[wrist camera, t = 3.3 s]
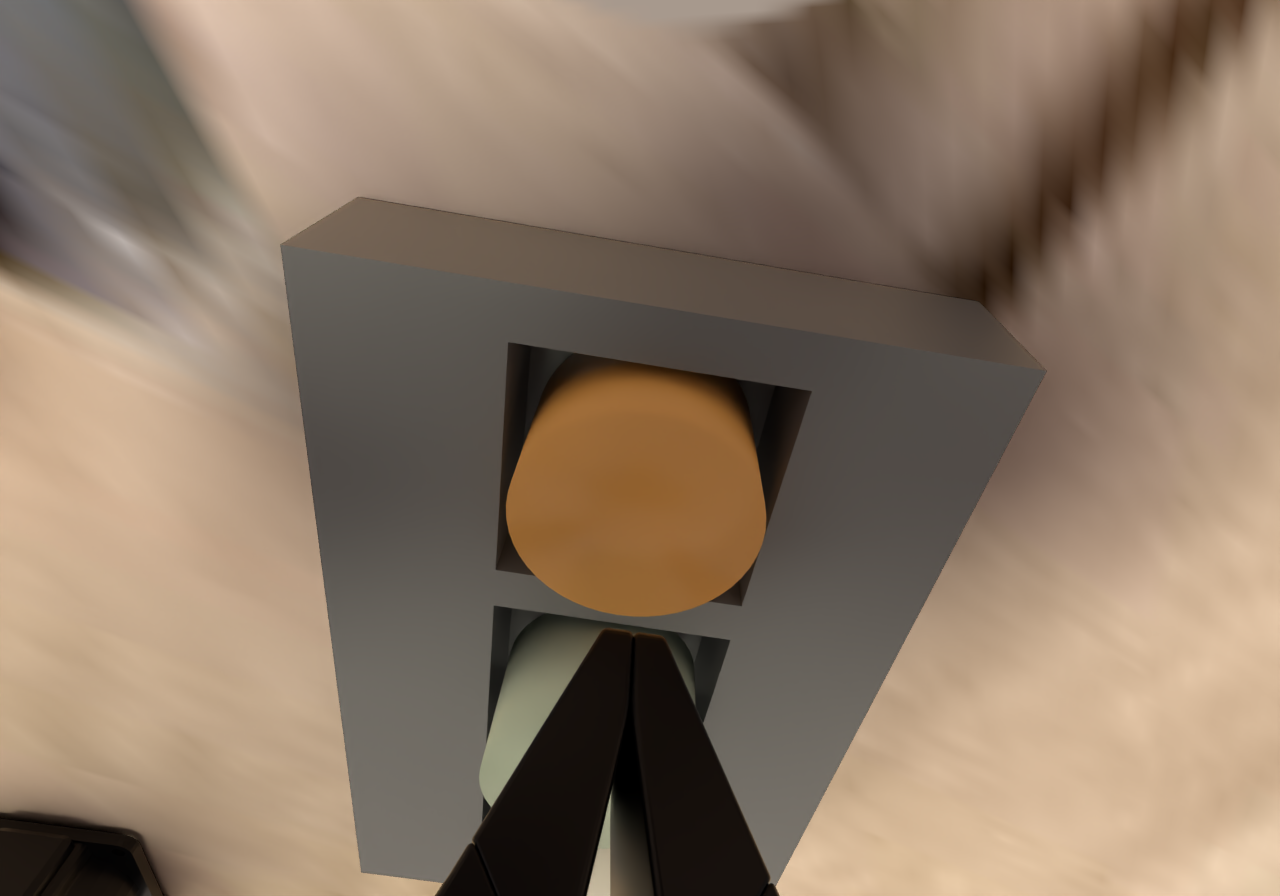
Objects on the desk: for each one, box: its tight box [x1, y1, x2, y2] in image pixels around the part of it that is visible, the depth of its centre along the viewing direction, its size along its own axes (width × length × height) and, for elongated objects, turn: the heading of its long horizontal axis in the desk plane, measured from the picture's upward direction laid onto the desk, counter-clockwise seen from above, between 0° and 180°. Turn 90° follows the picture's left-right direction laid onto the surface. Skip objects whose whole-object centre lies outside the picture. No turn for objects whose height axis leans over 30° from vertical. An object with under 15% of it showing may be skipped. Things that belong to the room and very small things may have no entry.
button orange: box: [506, 353, 766, 617], centre depth 13 cm, size 4×4×3 cm
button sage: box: [479, 613, 695, 849], centre depth 15 cm, size 4×4×3 cm
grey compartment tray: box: [281, 197, 1046, 886], centre depth 17 cm, size 19×12×3 cm, turn 171°
